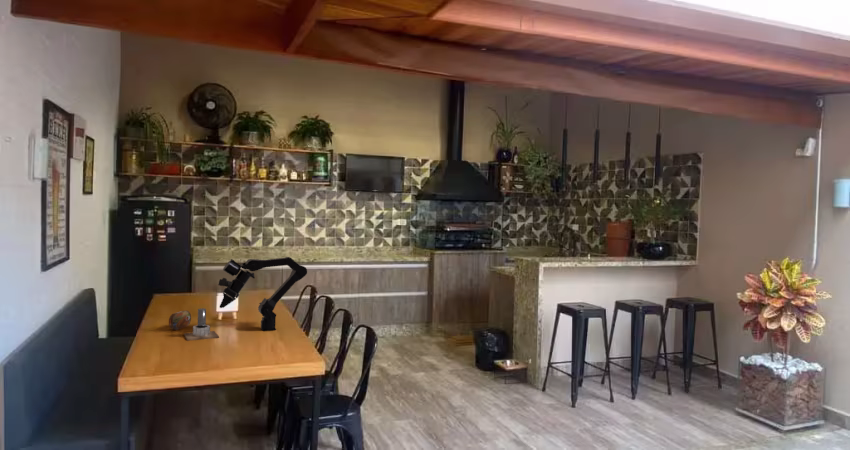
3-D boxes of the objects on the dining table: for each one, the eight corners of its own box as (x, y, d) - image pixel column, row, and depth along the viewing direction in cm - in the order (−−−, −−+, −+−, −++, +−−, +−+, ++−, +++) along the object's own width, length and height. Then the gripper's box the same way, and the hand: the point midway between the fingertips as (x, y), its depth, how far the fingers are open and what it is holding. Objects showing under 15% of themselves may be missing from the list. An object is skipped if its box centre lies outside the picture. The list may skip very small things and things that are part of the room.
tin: (172, 331, 276) (173, 314, 276) (167, 330, 276) (167, 314, 276) (191, 325, 291) (191, 309, 290) (186, 324, 291) (186, 308, 291)
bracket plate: (214, 332, 276) (214, 330, 276) (218, 337, 265) (218, 336, 265) (183, 335, 269) (183, 333, 269) (187, 340, 258) (187, 338, 258)
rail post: (206, 334, 269) (207, 308, 269) (203, 335, 265) (204, 309, 265) (199, 333, 269) (199, 308, 269) (196, 335, 265) (196, 309, 265)
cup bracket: (208, 332, 272) (208, 324, 272) (210, 335, 266) (210, 327, 266) (191, 333, 268) (192, 325, 268) (194, 337, 262) (194, 328, 262)
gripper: (228, 272, 287) (209, 298, 283) (224, 271, 269) (204, 298, 265) (246, 284, 288) (228, 310, 284) (244, 284, 270) (224, 311, 266)
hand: (221, 307), depth 275 cm, fingers open, 9 cm apart
